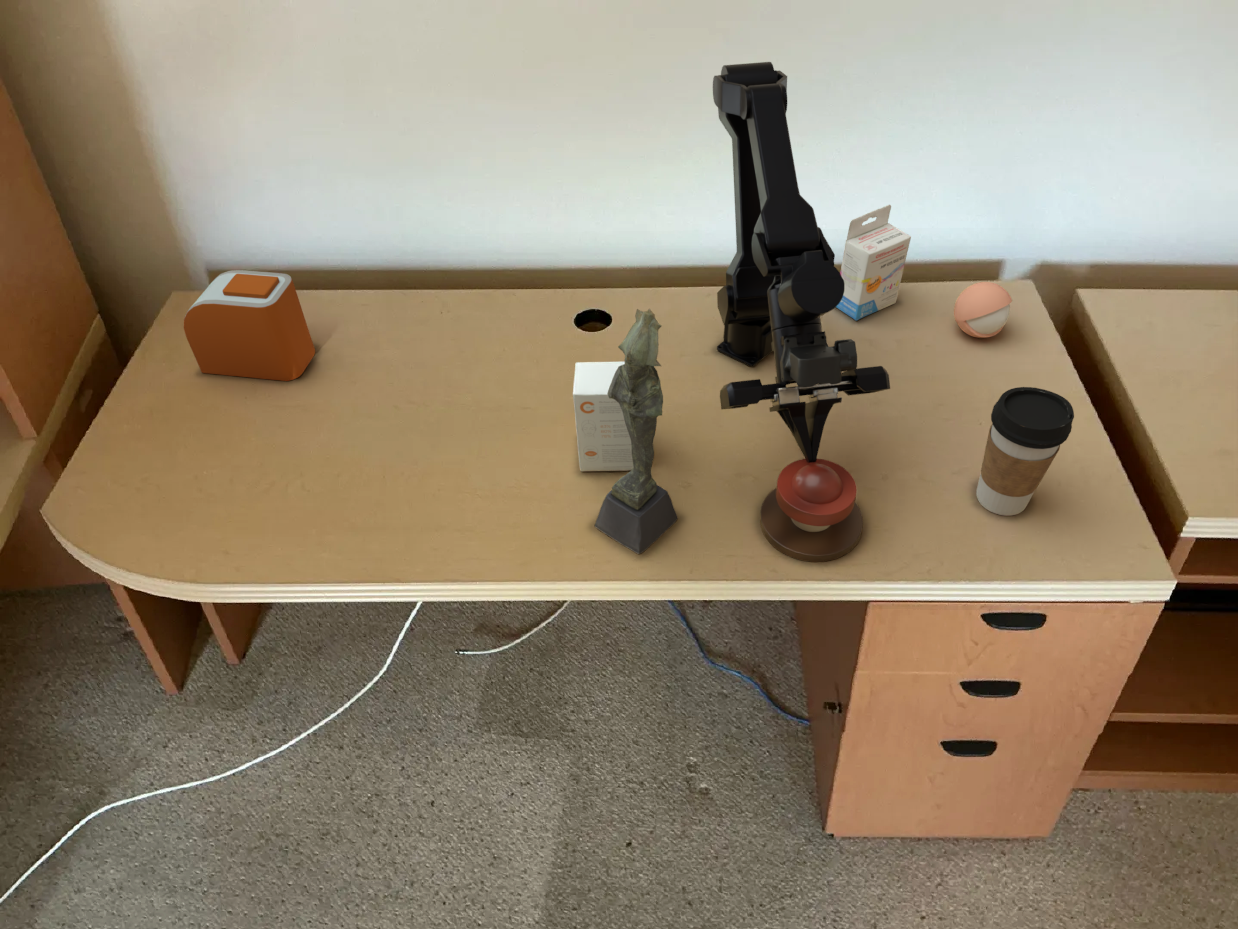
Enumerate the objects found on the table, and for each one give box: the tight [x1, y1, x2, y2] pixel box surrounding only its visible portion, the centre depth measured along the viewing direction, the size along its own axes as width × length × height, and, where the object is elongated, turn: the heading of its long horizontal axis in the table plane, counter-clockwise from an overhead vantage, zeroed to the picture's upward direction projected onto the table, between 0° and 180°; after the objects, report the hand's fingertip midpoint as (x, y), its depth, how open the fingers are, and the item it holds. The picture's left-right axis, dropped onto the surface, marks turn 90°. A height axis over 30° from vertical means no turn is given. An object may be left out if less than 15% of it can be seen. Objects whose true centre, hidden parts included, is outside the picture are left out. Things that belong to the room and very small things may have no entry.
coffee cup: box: [975, 386, 1075, 517], centre depth 109 cm, size 8×8×15 cm
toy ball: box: [953, 281, 1013, 339], centre depth 135 cm, size 8×8×8 cm
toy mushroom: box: [759, 458, 864, 563], centre depth 109 cm, size 12×12×9 cm
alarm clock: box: [183, 269, 316, 382], centre depth 133 cm, size 15×8×14 cm, turn 80°
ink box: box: [835, 204, 912, 321], centre depth 138 cm, size 8×5×15 cm, turn 123°
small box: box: [572, 360, 633, 472], centre depth 117 cm, size 8×6×13 cm
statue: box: [594, 308, 679, 555], centre depth 102 cm, size 7×8×30 cm
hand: (811, 462), depth 109 cm, fingers closed
